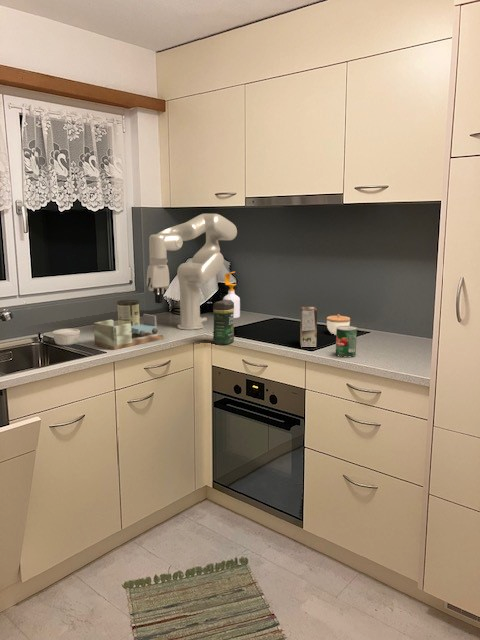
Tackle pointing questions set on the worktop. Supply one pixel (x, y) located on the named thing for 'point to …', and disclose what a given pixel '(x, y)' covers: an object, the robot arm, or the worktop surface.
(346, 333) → the canned tomato
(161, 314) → the worktop surface
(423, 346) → the worktop surface
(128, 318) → the coffee can
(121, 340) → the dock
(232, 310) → the coffee jar
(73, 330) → the ramekin
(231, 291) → the soap bottle
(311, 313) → the coffee box
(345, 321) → the lidded jar
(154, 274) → the robot arm
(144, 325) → the trolley
